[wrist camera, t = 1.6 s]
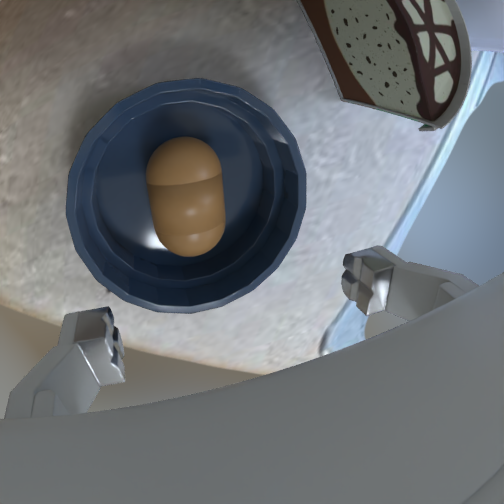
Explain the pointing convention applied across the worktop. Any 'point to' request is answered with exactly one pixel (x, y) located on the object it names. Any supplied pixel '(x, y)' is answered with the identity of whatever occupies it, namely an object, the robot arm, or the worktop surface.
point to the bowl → (138, 206)
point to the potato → (186, 196)
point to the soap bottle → (484, 23)
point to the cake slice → (396, 55)
